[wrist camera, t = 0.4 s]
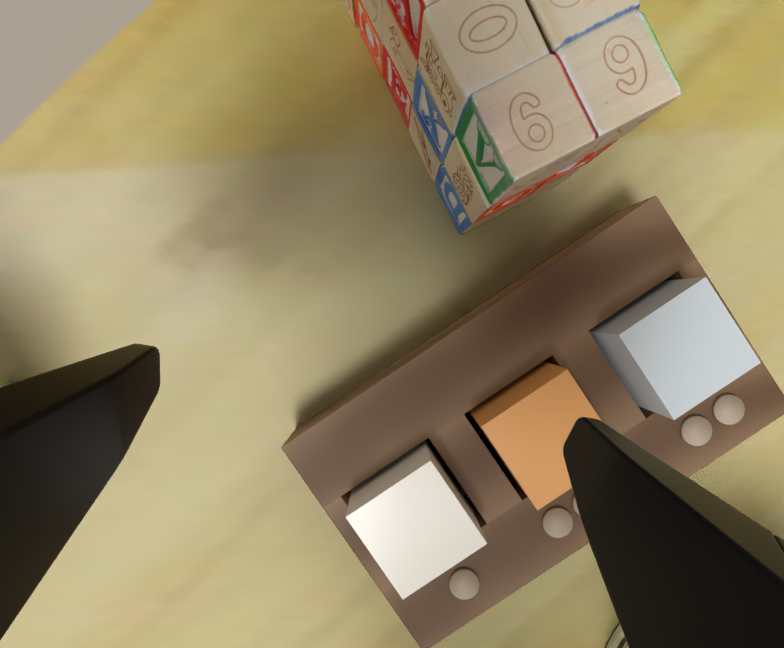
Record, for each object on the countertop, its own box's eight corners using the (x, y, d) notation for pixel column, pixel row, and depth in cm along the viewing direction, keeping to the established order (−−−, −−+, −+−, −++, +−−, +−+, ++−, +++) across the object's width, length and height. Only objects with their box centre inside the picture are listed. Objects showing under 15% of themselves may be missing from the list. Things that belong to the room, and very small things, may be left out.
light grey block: (707, 354, 21) (760, 362, 18) (632, 403, 21) (674, 420, 18) (659, 281, 21) (705, 276, 18) (585, 331, 21) (618, 335, 18)
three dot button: (589, 432, 21) (623, 453, 18) (516, 481, 21) (537, 510, 18) (541, 360, 21) (567, 369, 18) (467, 409, 21) (481, 426, 18)
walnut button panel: (738, 395, 23) (796, 409, 19) (418, 606, 23) (423, 655, 20) (619, 210, 22) (658, 194, 19) (295, 428, 22) (279, 449, 19)
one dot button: (473, 509, 21) (487, 544, 18) (400, 557, 21) (402, 599, 18) (424, 438, 21) (430, 460, 18) (351, 487, 21) (345, 517, 18)
